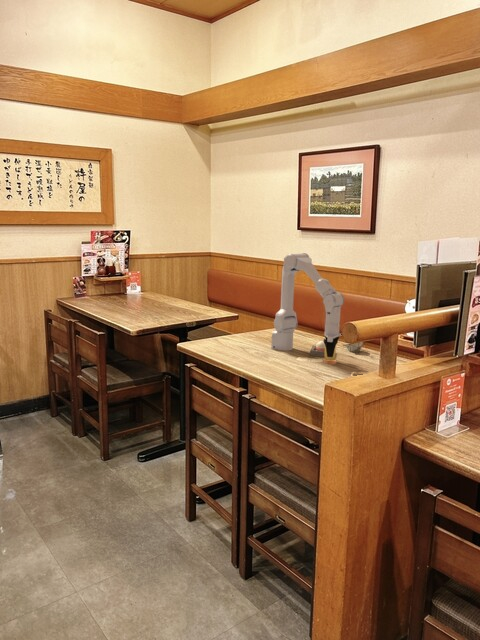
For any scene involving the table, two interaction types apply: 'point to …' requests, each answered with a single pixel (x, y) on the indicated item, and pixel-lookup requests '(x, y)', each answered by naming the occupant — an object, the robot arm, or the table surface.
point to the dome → (320, 346)
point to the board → (316, 360)
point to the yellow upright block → (330, 357)
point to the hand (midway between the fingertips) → (330, 355)
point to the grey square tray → (316, 352)
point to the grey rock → (354, 347)
